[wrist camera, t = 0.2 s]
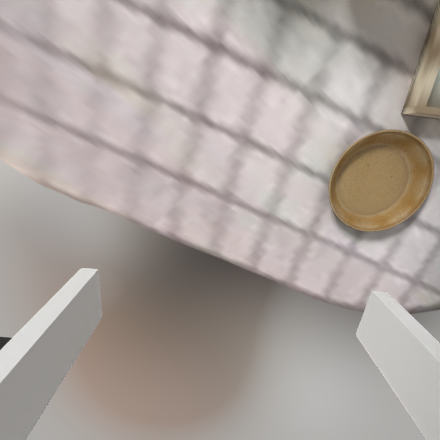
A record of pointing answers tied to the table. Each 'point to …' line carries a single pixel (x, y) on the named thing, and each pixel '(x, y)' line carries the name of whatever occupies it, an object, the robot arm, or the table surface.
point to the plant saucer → (381, 180)
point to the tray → (427, 76)
